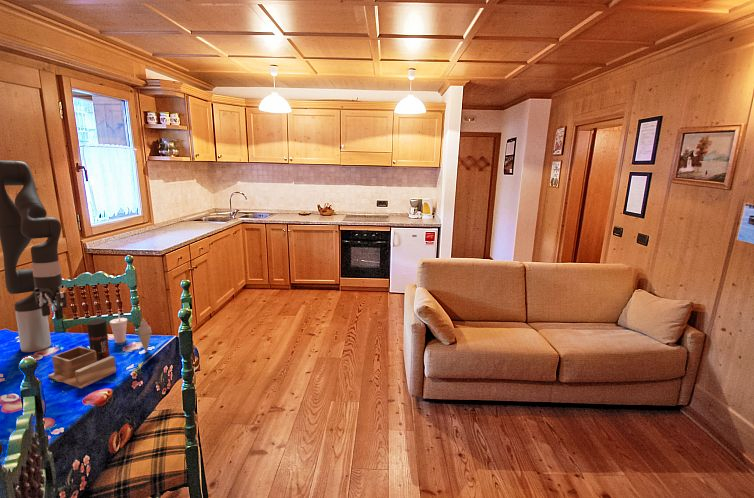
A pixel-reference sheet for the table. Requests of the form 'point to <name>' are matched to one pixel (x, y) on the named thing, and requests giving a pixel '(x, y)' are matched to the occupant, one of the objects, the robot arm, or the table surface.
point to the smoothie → (119, 328)
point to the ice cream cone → (144, 333)
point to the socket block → (73, 361)
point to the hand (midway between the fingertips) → (52, 317)
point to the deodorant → (98, 338)
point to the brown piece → (89, 373)
